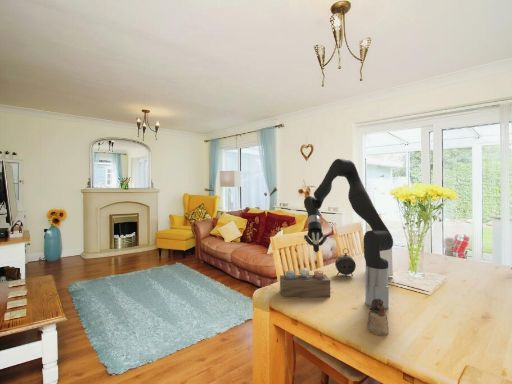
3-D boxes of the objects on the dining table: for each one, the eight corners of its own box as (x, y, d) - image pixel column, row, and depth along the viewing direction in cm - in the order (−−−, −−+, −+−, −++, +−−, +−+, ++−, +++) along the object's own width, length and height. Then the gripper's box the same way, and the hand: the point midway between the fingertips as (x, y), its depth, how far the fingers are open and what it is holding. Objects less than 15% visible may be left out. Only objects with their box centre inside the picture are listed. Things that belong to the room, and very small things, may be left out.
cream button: (310, 275, 130) (310, 270, 130) (301, 275, 130) (301, 270, 130) (307, 272, 134) (307, 267, 134) (299, 272, 134) (299, 267, 134)
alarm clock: (353, 274, 160) (354, 247, 159) (356, 277, 155) (356, 249, 154) (334, 274, 161) (335, 247, 160) (336, 277, 156) (336, 249, 155)
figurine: (382, 325, 103) (382, 294, 103) (392, 335, 96) (392, 302, 96) (364, 325, 103) (364, 294, 102) (372, 336, 96) (372, 302, 95)
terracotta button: (324, 278, 130) (324, 273, 130) (315, 278, 130) (315, 273, 130) (321, 275, 135) (321, 270, 135) (313, 275, 135) (313, 270, 135)
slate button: (295, 278, 130) (295, 273, 130) (286, 278, 130) (286, 273, 130) (293, 275, 134) (293, 270, 134) (285, 275, 134) (285, 270, 134)
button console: (330, 296, 129) (330, 279, 129) (282, 297, 128) (282, 280, 128) (325, 290, 137) (325, 273, 137) (280, 291, 136) (280, 274, 136)
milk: (388, 271, 166) (389, 229, 165) (392, 277, 155) (393, 232, 154) (367, 269, 169) (368, 228, 168) (370, 275, 158) (370, 231, 157)
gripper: (302, 220, 152) (303, 247, 140) (327, 221, 151) (330, 248, 139) (302, 228, 158) (303, 254, 146) (325, 228, 156) (328, 255, 144)
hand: (316, 251), depth 142 cm, fingers closed
